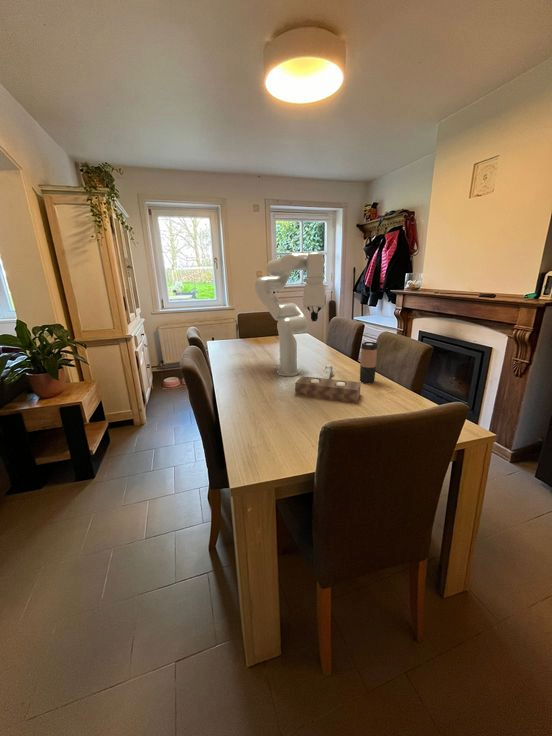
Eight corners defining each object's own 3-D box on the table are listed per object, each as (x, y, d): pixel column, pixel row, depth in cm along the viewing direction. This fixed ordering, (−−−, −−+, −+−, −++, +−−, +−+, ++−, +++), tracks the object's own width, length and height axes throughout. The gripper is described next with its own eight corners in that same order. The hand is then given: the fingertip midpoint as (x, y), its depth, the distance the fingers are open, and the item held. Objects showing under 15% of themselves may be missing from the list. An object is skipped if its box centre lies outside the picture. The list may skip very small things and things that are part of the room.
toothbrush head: (317, 382, 147) (324, 361, 169) (317, 394, 150) (324, 371, 172) (328, 383, 146) (334, 361, 167) (328, 395, 149) (334, 372, 170)
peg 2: (335, 395, 138) (335, 384, 136) (336, 392, 141) (337, 381, 140) (344, 396, 136) (344, 385, 135) (345, 393, 140) (346, 382, 138)
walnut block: (295, 394, 142) (295, 382, 140) (301, 387, 151) (301, 376, 149) (356, 403, 132) (357, 390, 130) (359, 394, 141) (360, 382, 139)
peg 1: (309, 392, 142) (309, 381, 141) (311, 389, 146) (312, 378, 144) (317, 393, 141) (318, 382, 139) (320, 390, 144) (320, 379, 143)
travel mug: (376, 383, 153) (379, 345, 147) (361, 384, 153) (363, 345, 147) (372, 378, 160) (375, 341, 154) (357, 378, 161) (359, 341, 155)
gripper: (296, 281, 140) (296, 321, 145) (328, 281, 134) (327, 322, 140) (301, 281, 146) (301, 319, 152) (332, 280, 141) (331, 320, 146)
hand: (314, 320), depth 146 cm, fingers closed
